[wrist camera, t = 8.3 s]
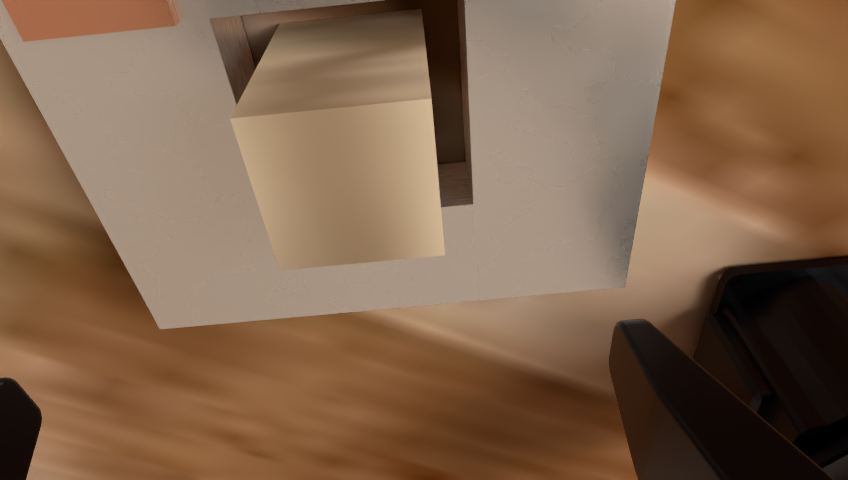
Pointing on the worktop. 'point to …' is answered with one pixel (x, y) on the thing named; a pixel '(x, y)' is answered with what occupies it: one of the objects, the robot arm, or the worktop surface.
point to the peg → (344, 141)
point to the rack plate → (458, 182)
